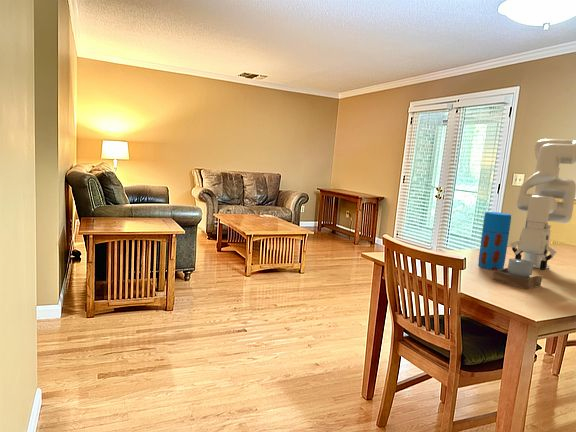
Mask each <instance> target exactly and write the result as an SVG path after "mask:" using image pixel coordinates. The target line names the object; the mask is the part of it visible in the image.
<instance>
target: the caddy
mask: <svg viewBox="0 0 576 432" xmlns="http://www.w3.org/2000/svg"><path fill="white" fill-rule="evenodd" d="M507 271H508V267H505V268H503V269H500V270H493V277H492V281H495V282H498V283H501V284H505V285H509V286H513V287H516V288H519V289H522V290H530V289H533V288H538V287H541V286H542V281H543V275H540V274H539V275H534V276H530V278H522V277H519V276H515V275H511V274H507Z"/></svg>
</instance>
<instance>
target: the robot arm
mask: <svg viewBox="0 0 576 432" xmlns="http://www.w3.org/2000/svg"><path fill="white" fill-rule="evenodd" d="M534 156H535V160H536V165H535V171H534V173H533V174H532V175H530V176H529V177H527V178H526V179H525V180H524V181H523V182H522V184H521V185H520V187H519V190H518V195H517V201H516V206H517V209H518V210H520V211H521V212H527V213H526V219H525V225H524V227H523V228H522V230H521V233H520V236H519V240H516V241H513V242H511V243H510V247H511V249H512V251H513V253H514V255H515V257H514V259H522V260H526V261H532V262H533V268H535V269H539V270H540V271H545V270H546V269H549V267H550V265H549V264H548V261H549V260H552V259H553V258H554V256H555V255H556V254H557V251H556V250H555V249H554V248H552V247H550V238H551V225H549V222H552V223H553V222H554V223H561V224H566V223H569V222H571V220H572V218H573V211H574V205H575V198H576V197H575V196H576V182H575V181H574V180H573V179H569V178H561V177H560V178H559V175H560V168H561V167H560V164H561V165H562V164H563V165H565V164H566V165H567V164H568V165H573V164H576V139H564V138H563V139H561V138H542V139H539V140H537V141H536V142H535V144H534ZM531 188H534V192H535V194H534V193H527V192H528V191H529V190H530V189H531ZM557 200H561V201H557ZM522 253H523V255H522ZM548 253H549V255H548Z"/></svg>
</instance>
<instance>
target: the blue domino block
mask: <svg viewBox="0 0 576 432" xmlns="http://www.w3.org/2000/svg"><path fill="white" fill-rule="evenodd" d="M483 217H484V218H483V224H482V230H481V231H482V232H481V239H480V246H479V252H478V253H479V255H478V262H477V263H478V267H480V268H483V269H487V270H491V271H495V270H500V269H505V268H504V267H505V264H506V263H505V262H506V256H507V250H508V249H507V248H508V243H509V237H510V229H511V222H512V214H509V213H504V212H498V211H485V213H484V215H483Z"/></svg>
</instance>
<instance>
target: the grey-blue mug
mask: <svg viewBox="0 0 576 432" xmlns="http://www.w3.org/2000/svg"><path fill="white" fill-rule="evenodd" d="M507 268H508V271H507V274H511V275H515V276H519V277H522V278H530V277H531V276H532V274H533V262H532V261H526V260H523V258H521V259H515V258H509V259H508V264H507Z"/></svg>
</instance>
